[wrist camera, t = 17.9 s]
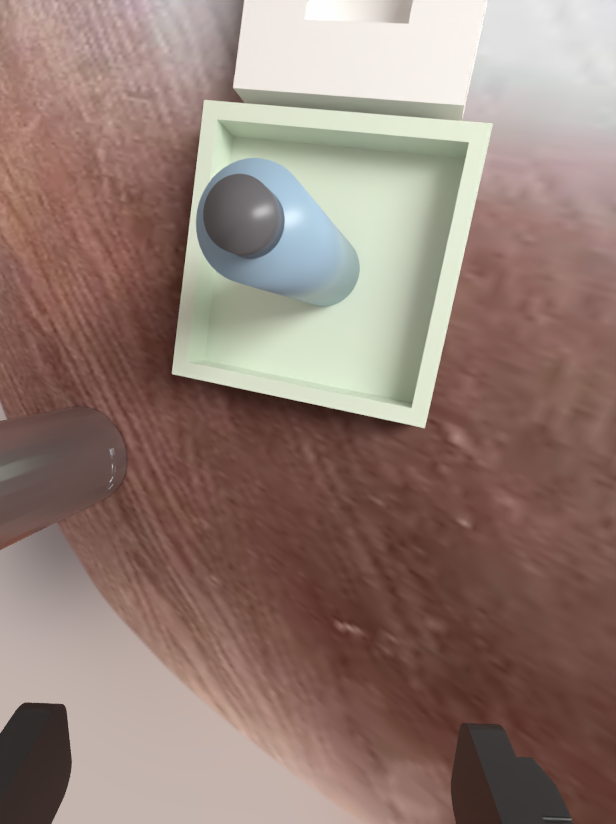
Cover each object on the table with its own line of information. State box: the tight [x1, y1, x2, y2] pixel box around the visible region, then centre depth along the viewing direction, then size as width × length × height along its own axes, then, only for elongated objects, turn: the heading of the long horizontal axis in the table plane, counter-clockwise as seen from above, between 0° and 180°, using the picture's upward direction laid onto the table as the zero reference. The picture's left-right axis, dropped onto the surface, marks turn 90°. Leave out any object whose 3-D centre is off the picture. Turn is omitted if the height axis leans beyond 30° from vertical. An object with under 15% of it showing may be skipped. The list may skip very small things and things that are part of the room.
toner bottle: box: [196, 158, 360, 306], centre depth 29 cm, size 6×6×18 cm
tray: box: [172, 100, 493, 428], centre depth 36 cm, size 20×20×4 cm
